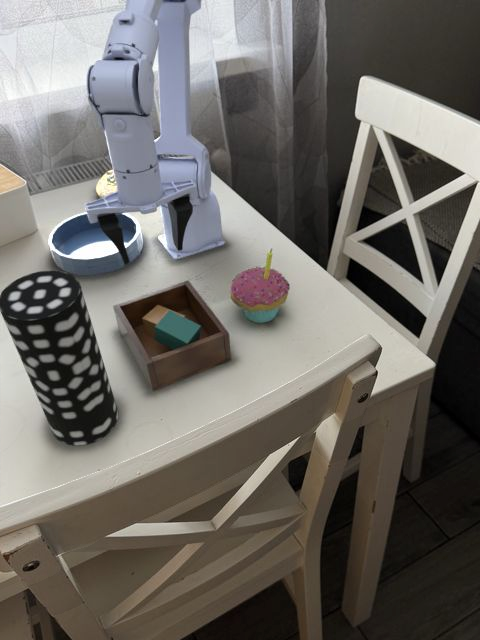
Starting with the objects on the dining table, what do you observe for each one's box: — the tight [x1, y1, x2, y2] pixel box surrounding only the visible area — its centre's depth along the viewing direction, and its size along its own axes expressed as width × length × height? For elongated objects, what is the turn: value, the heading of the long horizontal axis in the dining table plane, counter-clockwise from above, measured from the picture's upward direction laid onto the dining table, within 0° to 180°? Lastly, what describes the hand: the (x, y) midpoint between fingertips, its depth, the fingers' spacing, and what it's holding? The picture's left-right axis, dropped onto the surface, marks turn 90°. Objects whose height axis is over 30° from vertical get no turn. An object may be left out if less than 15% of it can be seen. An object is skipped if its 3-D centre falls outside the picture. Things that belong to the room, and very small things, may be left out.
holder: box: [112, 279, 232, 392], centre depth 83 cm, size 12×14×5 cm
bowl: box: [47, 211, 144, 276], centre depth 102 cm, size 15×15×4 cm
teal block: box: [155, 310, 201, 350], centre depth 80 cm, size 4×5×3 cm
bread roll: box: [95, 169, 117, 199], centre depth 117 cm, size 11×11×5 cm
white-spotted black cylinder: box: [0, 269, 119, 446], centre depth 68 cm, size 8×8×20 cm
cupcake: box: [230, 247, 291, 324], centre depth 85 cm, size 9×8×12 cm
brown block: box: [142, 305, 185, 338], centre depth 85 cm, size 4×5×3 cm
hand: (152, 253), depth 84 cm, fingers open, 7 cm apart
